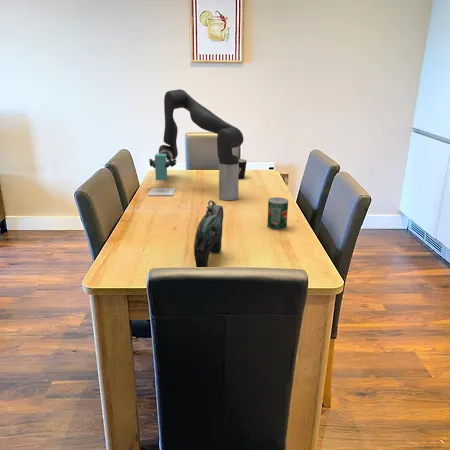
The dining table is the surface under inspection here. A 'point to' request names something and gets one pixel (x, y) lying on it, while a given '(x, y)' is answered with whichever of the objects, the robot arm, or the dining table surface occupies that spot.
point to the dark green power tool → (209, 234)
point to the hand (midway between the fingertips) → (160, 166)
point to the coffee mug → (242, 168)
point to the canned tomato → (277, 213)
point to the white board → (162, 192)
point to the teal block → (160, 167)
